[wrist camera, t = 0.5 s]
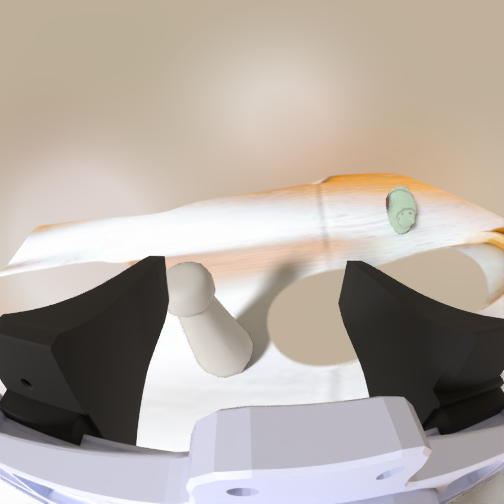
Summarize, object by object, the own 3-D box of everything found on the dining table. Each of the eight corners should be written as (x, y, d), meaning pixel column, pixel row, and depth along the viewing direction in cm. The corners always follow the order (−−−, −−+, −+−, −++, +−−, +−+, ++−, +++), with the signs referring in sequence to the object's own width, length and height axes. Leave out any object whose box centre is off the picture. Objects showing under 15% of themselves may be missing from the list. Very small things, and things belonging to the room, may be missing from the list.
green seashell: (415, 252, 34) (422, 209, 29) (385, 250, 35) (388, 207, 31) (409, 214, 39) (413, 174, 35) (383, 213, 41) (384, 173, 36)
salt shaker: (243, 327, 32) (202, 238, 24) (268, 366, 28) (231, 281, 19) (196, 352, 31) (138, 272, 22) (216, 394, 27) (153, 322, 18)
